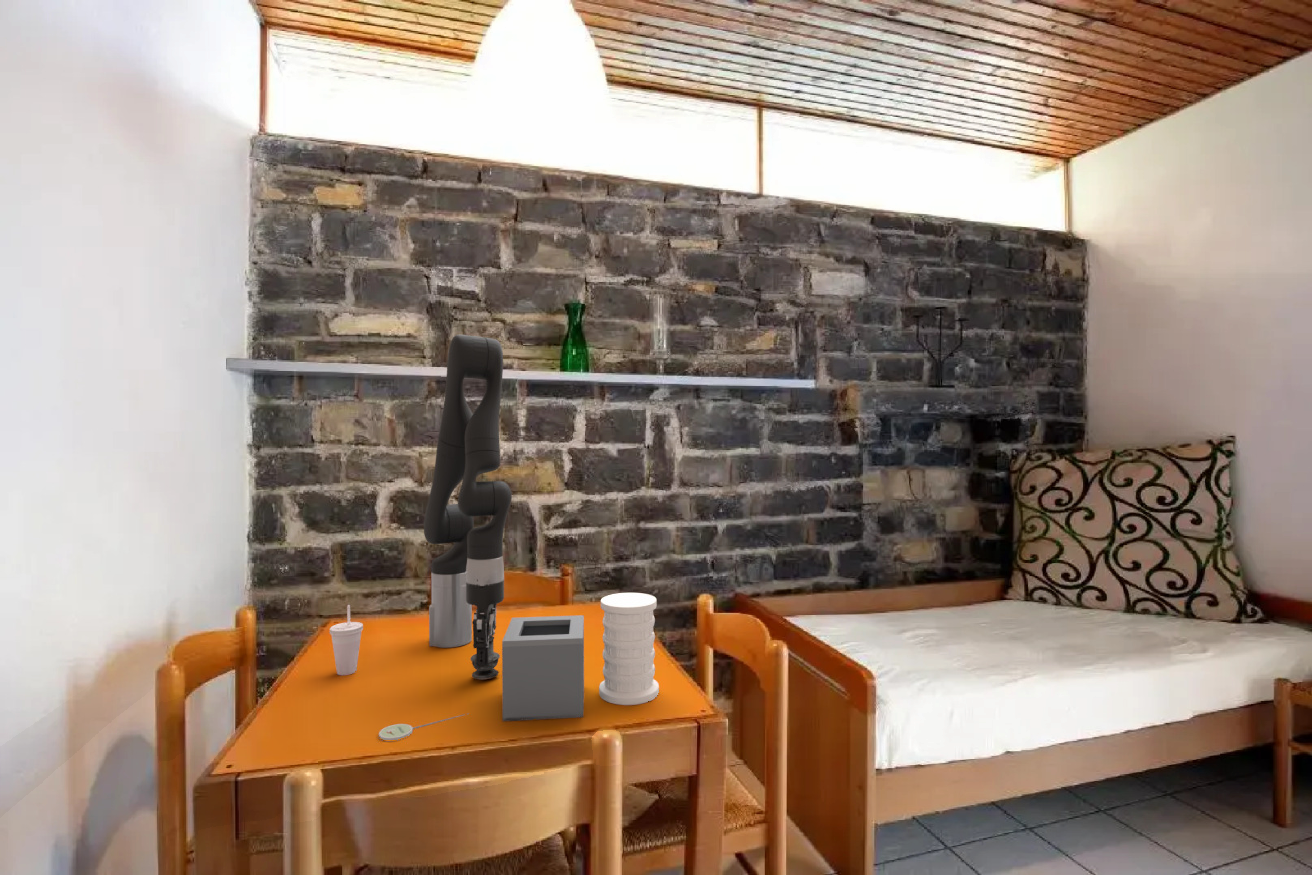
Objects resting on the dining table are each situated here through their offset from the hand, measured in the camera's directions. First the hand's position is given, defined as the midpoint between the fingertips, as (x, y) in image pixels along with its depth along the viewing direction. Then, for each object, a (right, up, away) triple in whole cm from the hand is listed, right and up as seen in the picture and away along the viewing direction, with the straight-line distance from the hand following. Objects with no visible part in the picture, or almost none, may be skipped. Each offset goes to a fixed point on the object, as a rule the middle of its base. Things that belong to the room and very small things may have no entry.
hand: (485, 659), depth 128 cm
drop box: (+15, -4, -12) cm, 19 cm away
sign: (-4, -5, -21) cm, 22 cm away
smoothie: (-30, -4, +4) cm, 31 cm away
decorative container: (+30, -4, -7) cm, 31 cm away
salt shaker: (0, -3, 0) cm, 3 cm away
